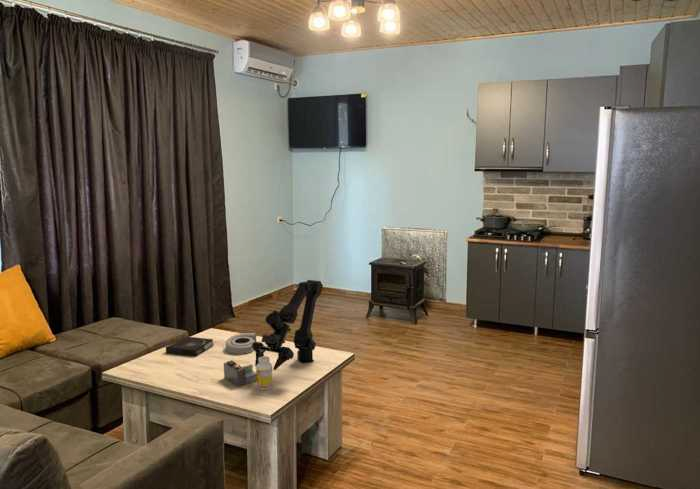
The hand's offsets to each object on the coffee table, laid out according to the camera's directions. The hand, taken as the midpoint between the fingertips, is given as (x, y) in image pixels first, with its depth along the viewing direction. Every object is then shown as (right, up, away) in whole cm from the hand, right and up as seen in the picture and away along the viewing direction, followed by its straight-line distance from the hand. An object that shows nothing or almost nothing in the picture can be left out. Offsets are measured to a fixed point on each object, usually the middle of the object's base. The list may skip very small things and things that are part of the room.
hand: (264, 368), depth 228 cm
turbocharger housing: (-19, -1, +47) cm, 51 cm away
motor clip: (-11, -7, +10) cm, 16 cm away
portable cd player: (-45, -2, +46) cm, 64 cm away
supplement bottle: (0, -9, +1) cm, 8 cm away
